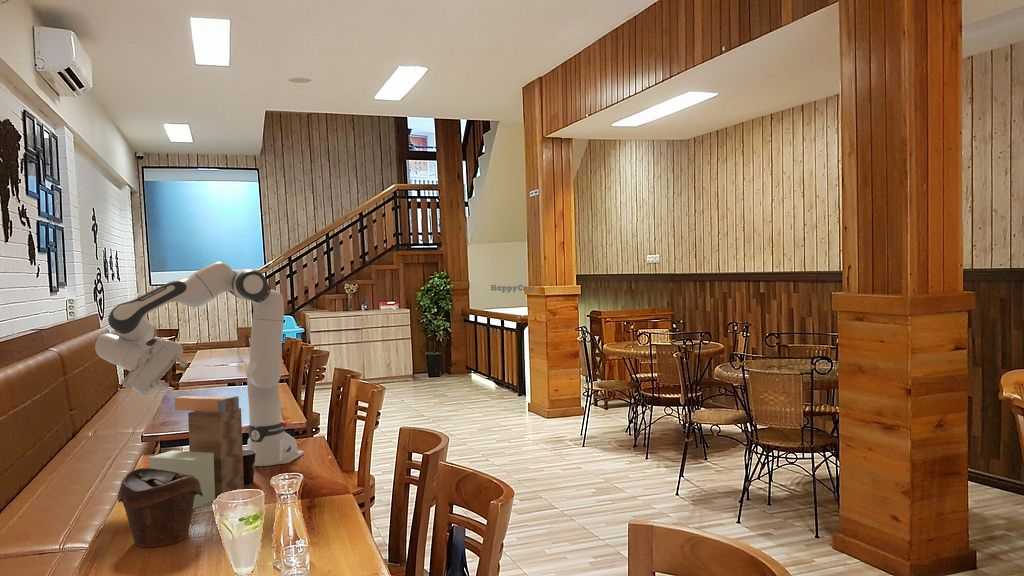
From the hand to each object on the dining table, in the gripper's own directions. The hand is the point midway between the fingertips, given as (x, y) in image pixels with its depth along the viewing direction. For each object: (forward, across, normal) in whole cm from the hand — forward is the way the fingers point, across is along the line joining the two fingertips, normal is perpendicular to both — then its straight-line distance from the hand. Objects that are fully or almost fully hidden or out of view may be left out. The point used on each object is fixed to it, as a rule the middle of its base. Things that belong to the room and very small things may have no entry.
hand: (176, 375), depth 238 cm
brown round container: (+38, -50, -16) cm, 65 cm away
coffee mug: (+32, -15, +24) cm, 42 cm away
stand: (+29, -24, +16) cm, 41 cm away
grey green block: (+25, -33, +9) cm, 42 cm away
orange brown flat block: (+16, -7, 0) cm, 17 cm away
